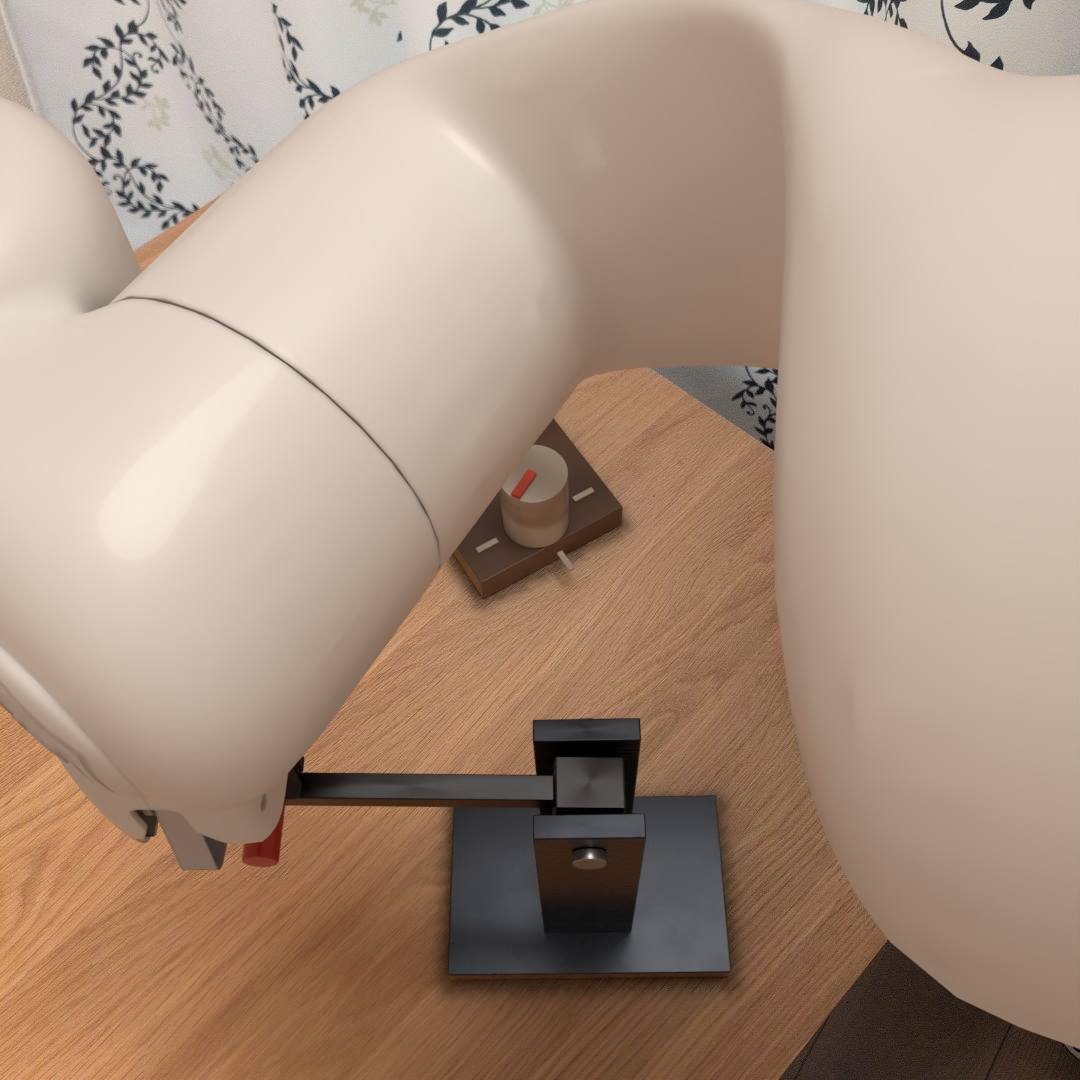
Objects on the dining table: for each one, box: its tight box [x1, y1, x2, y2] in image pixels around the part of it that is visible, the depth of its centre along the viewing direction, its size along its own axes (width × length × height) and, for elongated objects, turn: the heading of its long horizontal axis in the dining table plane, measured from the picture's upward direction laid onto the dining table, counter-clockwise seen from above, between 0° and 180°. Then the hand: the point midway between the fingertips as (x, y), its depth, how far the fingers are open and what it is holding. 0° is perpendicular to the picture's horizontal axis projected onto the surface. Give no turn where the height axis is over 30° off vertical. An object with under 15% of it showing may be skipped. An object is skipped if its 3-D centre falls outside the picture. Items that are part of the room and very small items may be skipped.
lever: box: [241, 756, 626, 868], centre depth 47 cm, size 15×6×2 cm, turn 90°
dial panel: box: [452, 417, 624, 600], centre depth 73 cm, size 20×10×2 cm, turn 31°
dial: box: [499, 445, 569, 548], centre depth 67 cm, size 4×4×5 cm
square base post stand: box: [447, 717, 732, 981], centre depth 53 cm, size 14×9×17 cm, turn 90°
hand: (264, 780), depth 46 cm, fingers closed
